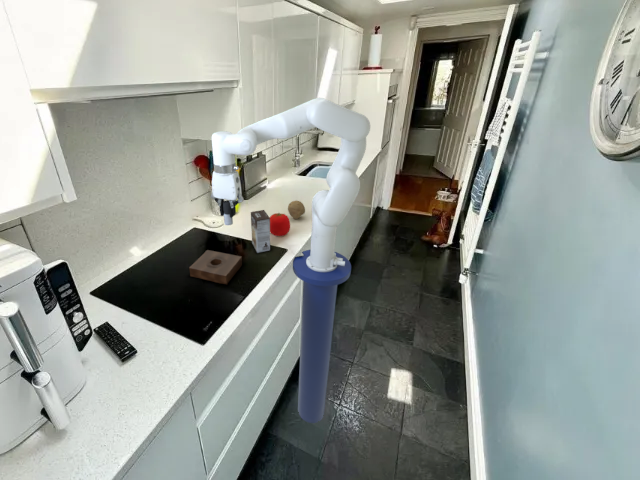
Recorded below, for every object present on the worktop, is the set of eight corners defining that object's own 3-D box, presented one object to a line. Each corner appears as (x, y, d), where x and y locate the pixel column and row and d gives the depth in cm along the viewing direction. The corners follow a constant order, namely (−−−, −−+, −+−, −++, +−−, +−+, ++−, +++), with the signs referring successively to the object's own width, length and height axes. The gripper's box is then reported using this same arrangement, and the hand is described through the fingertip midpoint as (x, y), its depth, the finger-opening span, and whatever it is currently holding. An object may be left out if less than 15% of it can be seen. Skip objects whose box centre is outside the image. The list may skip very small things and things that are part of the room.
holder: (242, 264, 126) (241, 256, 124) (226, 284, 115) (225, 275, 113) (208, 257, 132) (207, 249, 130) (190, 276, 120) (189, 267, 119)
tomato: (289, 240, 143) (289, 219, 138) (266, 238, 145) (266, 218, 140) (291, 230, 152) (291, 210, 148) (270, 228, 154) (269, 209, 150)
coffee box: (251, 243, 142) (250, 211, 135) (264, 240, 143) (263, 209, 136) (257, 253, 134) (256, 220, 127) (271, 250, 136) (270, 217, 128)
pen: (234, 222, 119) (232, 200, 115) (230, 226, 116) (229, 203, 112) (226, 221, 120) (225, 199, 116) (222, 224, 117) (221, 202, 113)
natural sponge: (297, 213, 170) (298, 196, 165) (308, 219, 163) (309, 201, 159) (284, 217, 165) (284, 200, 161) (295, 223, 159) (295, 205, 154)
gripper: (250, 167, 109) (251, 214, 117) (210, 163, 114) (214, 208, 123) (241, 173, 102) (243, 222, 110) (199, 168, 108) (204, 216, 116)
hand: (228, 215), depth 116 cm, fingers closed on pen, 3 cm apart
